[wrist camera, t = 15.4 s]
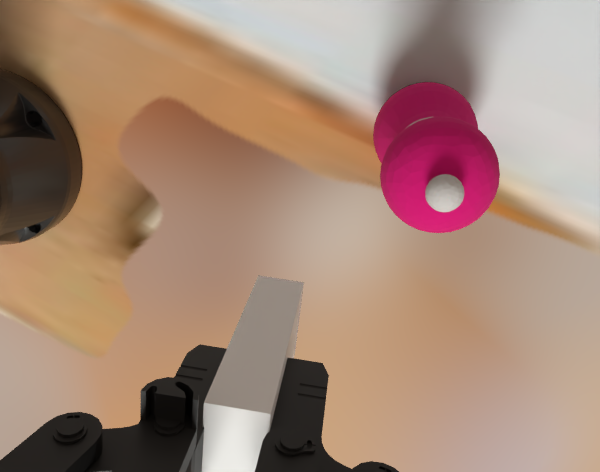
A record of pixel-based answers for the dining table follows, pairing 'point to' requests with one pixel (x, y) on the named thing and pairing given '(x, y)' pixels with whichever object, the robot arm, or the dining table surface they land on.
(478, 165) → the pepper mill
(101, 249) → the dining table surface
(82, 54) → the dining table surface
